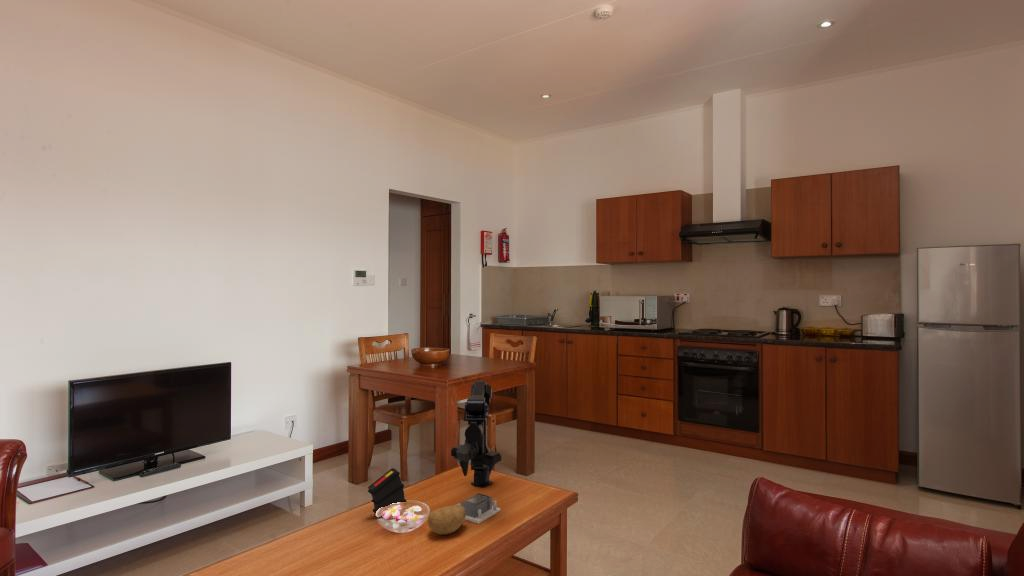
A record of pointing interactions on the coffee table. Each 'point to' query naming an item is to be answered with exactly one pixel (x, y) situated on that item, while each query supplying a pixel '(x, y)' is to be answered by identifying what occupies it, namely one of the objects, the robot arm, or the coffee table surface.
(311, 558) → the coffee table surface
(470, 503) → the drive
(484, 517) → the white mounting plate
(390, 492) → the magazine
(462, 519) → the potato
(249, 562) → the coffee table surface
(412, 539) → the coffee table surface
